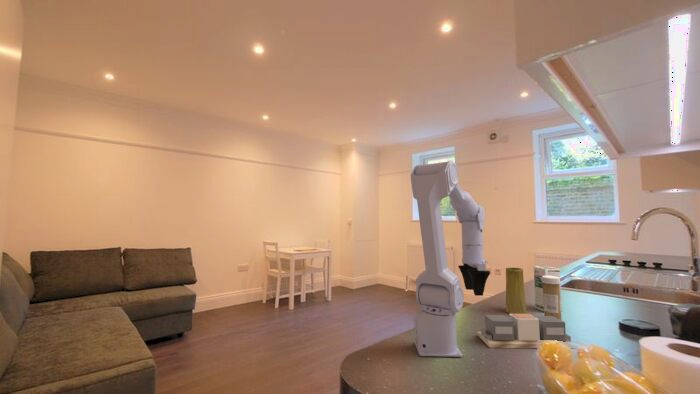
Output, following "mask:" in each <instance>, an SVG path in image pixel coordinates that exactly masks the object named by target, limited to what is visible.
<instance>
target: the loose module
mask: <svg viewBox="0 0 700 394" xmlns="http://www.w3.org/2000/svg"><path fill="white" fill-rule="evenodd" d="M508 315H509V316H508V318H509V319H511V320H512V321H514V337H515V338H516V339H518V340H528V341H538V340H540V333H539V319H537V318H535V317H534V316H535V315H532V314H530V313H527V314H510V313H508Z"/></svg>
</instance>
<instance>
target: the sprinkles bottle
mask: <svg viewBox="0 0 700 394" xmlns="http://www.w3.org/2000/svg"><path fill="white" fill-rule="evenodd" d="M560 282H561V278H560V279H559V277H556V276H542V284H543V304H544V311H543V314H544V315H543V316H554V317H556V318H558V319H560V320H562V312H561V304H562V301H561V302H560V289H559V284H560Z"/></svg>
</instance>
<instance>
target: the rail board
mask: <svg viewBox="0 0 700 394" xmlns="http://www.w3.org/2000/svg"><path fill="white" fill-rule="evenodd" d="M533 316H534V317H535V318H537V319H539V333H540V340H557V341H563V342H569V343H574V342H572V339H571V336H570V335H568V334H567V333H566V322H565V321H564V320H562V319H561V320H560V319H558V318H556V317H554V316H544V315H533ZM484 320H485V321H484V322H485V323H484V325H485V329H480V331H477V336H478V337H479V338H480V340H481V341H483V343H485V344H486V346H488V348H491V349H492V348H493V349H496V348H497V349H499V348H500V349H530V348H536V342H537V341H528V340H518V339H516V338H515V337H514V321H512V320H511V319H509V316H507V315H505V314H504V315H503V314H495V315H494V314H489V315H488V314H485V315H484Z"/></svg>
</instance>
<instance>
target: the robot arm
mask: <svg viewBox="0 0 700 394" xmlns="http://www.w3.org/2000/svg"><path fill="white" fill-rule="evenodd" d="M459 174H460V173H459V168H458V166H457V164H456V163H455V161H453V160H447V161H442V162H434V163H428V164H418V165H415V166H414V167H413V169H412V172H411V174H410V182H411V190H412V197H413V199H415V200H416V202H417V211H418V218H419V226H420V235H421V242H422V244H421V245H422V250H423V251H422V252H423V257H424V259H423V260H424V267H425V270H423V271H422V272H421V273H419V274H418V275H417V277H416V279H415V280H416V281H415V282H416V283H415V284H416V287H415V299H416V301H417V304H418V305H419V306H420V309H421V310H415V311H414V317H413V318H414V320H413V321H414V336H413V337H414V345H415V347H416V350H417V352H418V355H419V356H420V357H445V358H446V357H447V358H448V357H452V358H453V357H454V358H455V357H457V358H460V357H461V358H462V357H463V353H462V352H461V350H460V349H459V347H458V346H457V345H458V344H457V316H456V315H457V313H458V312H460V311H461V310H462V308H463V305H464V299H465V298H464V290H463V289H462V286H461V281H460V278H459V276H458V275H456V273H454V272H453V271H452V270H450V269H449V267H448V259H447V249H446V241H445V235H444V234H445V232H444V225H443V218H442V216H443V215H442V209H441V202H442V200H443V199H445V198H447V197H449V198H450V200H449V203H450V205H451V207H452V209H454V211H455V212H456V217H457V220H458V222H459V223H460V224H461V246H462V247H461V249H462V252H461V253H462V258H461V264H462V265H461V264H460V265H458V270H459V272H460V273H461V275H462V279H463V282H464V283H463V284H464V288H465V290H466V291H467V290H469V291H471V290H472V291H473V294H474V296H475V297H476V296H477V297H478V296H479V297H480V296H484V292H485V289H486V288H485V287H486V283H487V281H488V278H489V276H490V275H491V271H490V270H487V268H486V267H487V264H488V263H489V261H488V260H487V259H484V242H483V241H484V238H483V235H484V234H483V230H484V229H485V221H486V212H485V208H484V206H483V205H480V204H477V203H476V201H475V200H474V198H473V197H472V195H471V194H470V193H469V191H466V190H463V188H462V187H461V185H460V184H459Z"/></svg>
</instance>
